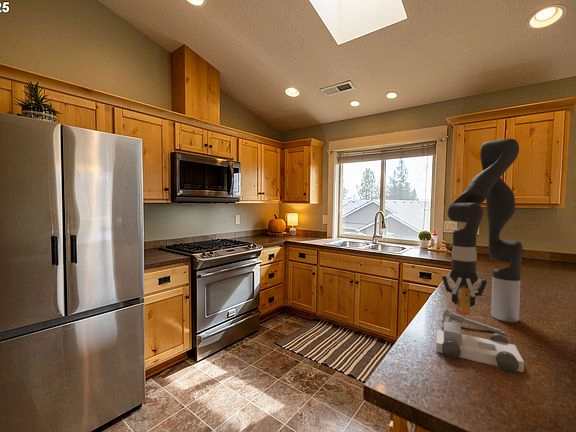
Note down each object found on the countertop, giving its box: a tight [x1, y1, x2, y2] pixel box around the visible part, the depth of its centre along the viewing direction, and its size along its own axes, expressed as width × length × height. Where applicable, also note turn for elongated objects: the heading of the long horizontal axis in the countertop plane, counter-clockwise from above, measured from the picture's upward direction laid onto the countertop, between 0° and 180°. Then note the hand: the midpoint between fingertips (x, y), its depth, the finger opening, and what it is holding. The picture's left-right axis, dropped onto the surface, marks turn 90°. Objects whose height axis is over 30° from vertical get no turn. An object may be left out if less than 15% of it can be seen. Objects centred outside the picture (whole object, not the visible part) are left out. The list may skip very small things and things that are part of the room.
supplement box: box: [455, 286, 471, 316], centre depth 98 cm, size 3×3×10 cm
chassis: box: [436, 320, 525, 373], centre depth 88 cm, size 15×22×7 cm
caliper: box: [442, 308, 506, 335], centre depth 106 cm, size 20×1×6 cm, turn 62°
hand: (462, 304), depth 98 cm, fingers closed on supplement box, 4 cm apart
